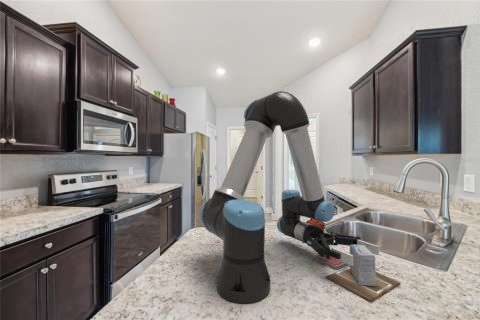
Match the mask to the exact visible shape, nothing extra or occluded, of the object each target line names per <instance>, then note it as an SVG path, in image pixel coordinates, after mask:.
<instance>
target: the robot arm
mask: <svg viewBox="0 0 480 320" xmlns="http://www.w3.org/2000/svg"><path fill="white" fill-rule="evenodd" d="M243 118H244V124H243V127H244V129H245V131H244V133H243V136H242V138H241V140H240V143H239V145H238V148H237V149H236V151H235V154H234V156H233V159H232V161H231V163H230V166H229V168H228V170H227V173H226V175H225V177H224V179H223V181H222V184H221V186H220V187H218V188H215V190H214V191H213V193H212V196H211V197H210V198H208V199H207V200H206V201H205V202H203V204H202V205H201V208H200V212H199V217H200V218H199V219H200V221H201V223H202V225H203V227H204V228H205V229H206V230H207V231H208V232H209V233H211V234H213V235H215V236H217V237H218V238H219V239H221V240H222V241H223V246H222V247H223V249H222V250H223V254H222V261H221V264H220V268H219V271H218V273H217V277H216V291H217V293H218V294H219V295H220V296H221V297H222V298H223V299H225V300H227V301H229V302H233V303H237V304H251V303H253V304H254V303H257V302H259V301H261V300H263V299H265V298H267V296H268V295H269V294H270V292H271V283H272V282H271V277H270V274H269V271H268V270H269V269H268V267H267V263H266V260H265V245H266V244H265V236H266V235H265V233H266V231H265V230H266V228H265V227H266V218H265V217H266V216H265V210H264V207H263V206H262V205H261V204H259V203H258V202H256V201H252V200H247V199H245V197H244V196H245V193H246V191H247V188H248V186H249V184H250V182H251V179H252V176H253V173H254V172H255V171H254V170H255V169H256V165H257V163H258V161H259V158H260V156H261V154H262V151H263V148H264V146H265V143H266V141H267V139H268V138H271V137H272V136H273V134H274V131H275V130H276V127H280V131H281V133H283V134H284V135H285V137H286V141H287V145H288V149H289V154H290V157H291V160H292V164H293V168H294V171H295V175H296V178H297V181H298V186H299V190H298V189H286V190H283V191H282V192H281V216H280V217H279V218H278V220H277V222H276V228H277V230H278V232H279V233H281V234H283V235H284V236H286V237H289V238H292V239H294V240H297V241H299V242H301V243H302V244H306V245H307V246H309V247H310V248H311V249H312V250H314V251H315V253H316V254H317V255H320V256H321V257H324V255H326V259H330V256H331V257H333V258H335V259H337V260H340V261H342V262H344V263H346V264H349V265H348V266H350V265H351V266H353V255H351V254H350V253H348V252H347V251H343V250H341V249H338V248H336V247H330V246H338V245H340V246H349V247H350V245H364V246H365V247H366V248H367V249H368V250H369V251H371V252H372V253H373V254H374V255H375V256H380V246H379V245H378V244H377V245H376V244H373V243H371V242H367V241H364V240H361V237H360V236H354V235H349V234H342V233H338V232H337V233H336V232H334V231H330V233H329V232H323V230H322V229H321V228H320V227H318V226H315V225H311V224H309V223H306V222H307V221H302V220H301V217H305V218H308V219H314V220H317V221H323V222H324V223H328V222H330V221H331V220H332V219H333V218H334V215H335V209H336V208H335V206H334V204H333V202H331V201H329V200H327V199H326V200H325V195H324V193H323V188H322V184H321V179H320V175H319V171H318V167H317V164H316V163H317V162H316V159H315V155H314V150H313V146H312V142H311V137H310V133H309V130H308V127H309V126H310V120H309V116H308V113H307V111H306V109H305V107H304V106H303V104H302V103H301V102H300V99H299V98H297V97H296V96H295V95H294V94H292V93H289V92H288V91H283V90H281V91H276V92H273V93H271V94H269V95H266V96H264V97H261V98H258V99H255V100H254V101H252V102H251V103H249V104H248V105H247V107H246V108H245V110H244V114H243Z"/></svg>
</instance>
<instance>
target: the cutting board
mask: <svg viewBox="0 0 480 320" xmlns="http://www.w3.org/2000/svg"><path fill="white" fill-rule="evenodd" d="M375 273H376V286H366V285H359V283H358V282H357V280H356V279H355V277H354V276H353V274H352V273H351V271H350V265H348V266H346V267H344V268H343V269H342V268H341V269H339V270H338V271H337V270H336V271H335V272H333V273H331V274H328V275H326V276H325V278H326V279H327V280H328V281H330V282H333V284H336V285H337V286H340V287H341V288H342V289H345V290H347V291H349V292H350V293H352V294H353V295H356V296H358V297H360V298H361V299H364V300H365V301H367V302H369V303H373V302H374V301H376V300H377V299H379V298H381V297H382V296H384V295H386V294H387V293H389V292H390V291H392V290H394V289H395V288H397V287H399V286H400V285H401V282H400V281H398V280H396V279H394V278H392V277H389V276H386V275H384V274H381V273H378V272H377V271H375Z"/></svg>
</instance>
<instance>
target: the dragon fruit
mask: <svg viewBox="0 0 480 320" xmlns="http://www.w3.org/2000/svg"><path fill="white" fill-rule="evenodd" d="M305 222H306V223H309V224H311V225H315V226H318V227H320V228H321V229H322V230H323V232H324V233H326V222H323V221H317V220H314V219H311V218H309V220H306V221H305Z"/></svg>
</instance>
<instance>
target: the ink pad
mask: <svg viewBox="0 0 480 320" xmlns="http://www.w3.org/2000/svg"><path fill="white" fill-rule="evenodd" d="M312 260H314V261H315V262H318V263H320V264H323V266H327V267H329V268H331V269H333V270H334V271H337V270H338V271H339V270H341V269H342V268H346V267H348V266H350V265H349V264H346V263H344V262H342V261H340V260H337V259H335V258H333V257H331V256H330V259H326V255H324V257H321V256H320V255H319V254H317V255H314V256H313V259H312Z"/></svg>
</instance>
